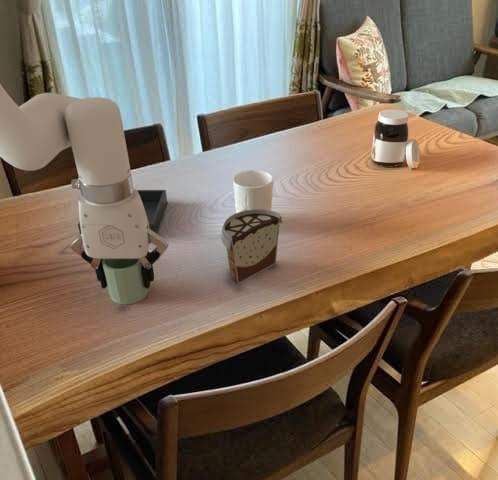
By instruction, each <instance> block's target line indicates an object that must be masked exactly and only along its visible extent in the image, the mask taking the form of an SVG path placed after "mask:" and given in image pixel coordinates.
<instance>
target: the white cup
mask: <svg viewBox="0 0 498 480" xmlns="http://www.w3.org/2000/svg"><path fill="white" fill-rule="evenodd" d="M232 186H233V187H232V188H233V196H234V205H235V206H234V207H235V214H236V213H238V212H241V211H246V210H253V209H263V210H270V211H272V206H273V193H274V191H273V189H274V176H273V175H272V174H271V173H269V172H267V171H265V170H259V169H257V170H256V169H251V170H244V171H240V172H238V173H236V174H235V175H234V176H233V177H232Z"/></svg>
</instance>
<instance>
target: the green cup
mask: <svg viewBox="0 0 498 480" xmlns="http://www.w3.org/2000/svg"><path fill="white" fill-rule="evenodd" d="M102 265H103V269H104V273H105V278H106V282H107V291H108V294H109V297H110V299H111V301H112V302H114V303H115V304H118V305H132V304H133V305H134V304H137V303H139V302H141V301H142V300H144V299H145V298H146V297H147V296H148V294H149V288H145V287H144V282H143V276H142V267H143V265H142V263H141V262H140V260H139V259H138V258H137V259H103V260H102Z"/></svg>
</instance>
